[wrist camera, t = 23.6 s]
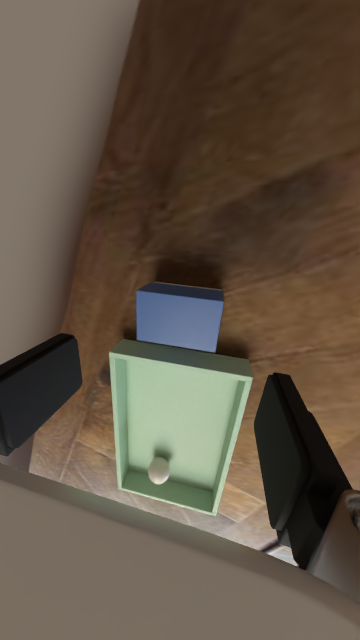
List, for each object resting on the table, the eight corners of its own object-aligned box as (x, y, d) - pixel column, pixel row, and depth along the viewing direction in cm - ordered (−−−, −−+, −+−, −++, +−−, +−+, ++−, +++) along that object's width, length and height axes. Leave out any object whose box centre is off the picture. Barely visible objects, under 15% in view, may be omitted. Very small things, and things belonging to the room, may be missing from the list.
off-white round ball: (164, 455, 29) (162, 448, 27) (174, 476, 27) (173, 471, 25) (146, 469, 28) (142, 463, 26) (155, 492, 26) (153, 487, 24)
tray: (122, 338, 22) (108, 352, 20) (248, 359, 20) (253, 377, 18) (127, 466, 31) (117, 489, 28) (215, 490, 29) (215, 516, 26)
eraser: (154, 280, 19) (136, 290, 15) (222, 288, 18) (224, 301, 14) (152, 321, 21) (136, 340, 17) (216, 330, 20) (215, 353, 16)
